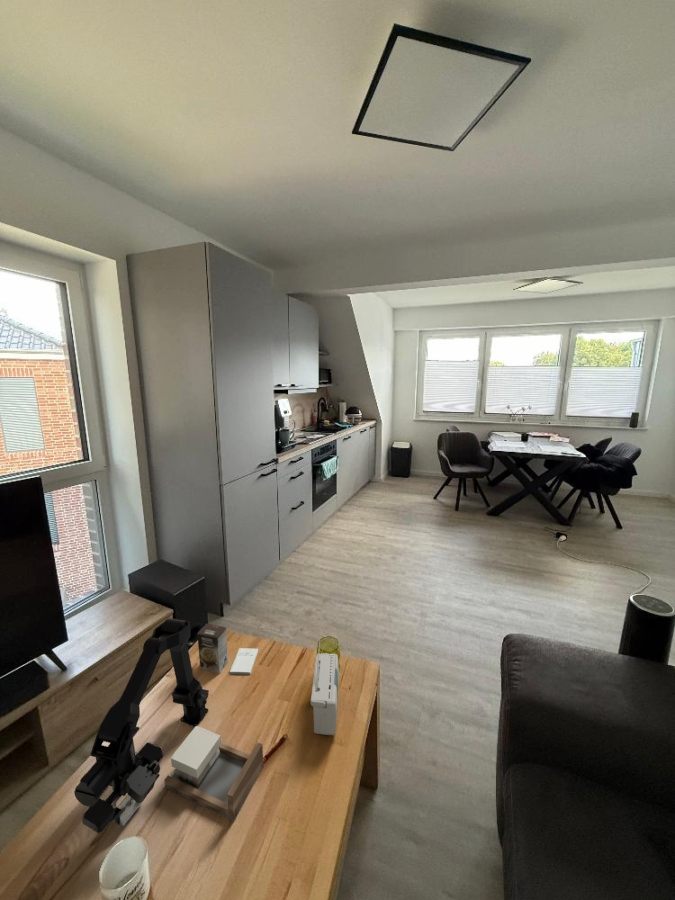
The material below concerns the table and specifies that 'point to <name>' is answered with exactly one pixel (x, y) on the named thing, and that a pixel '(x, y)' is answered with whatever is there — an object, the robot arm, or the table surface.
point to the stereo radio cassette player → (325, 693)
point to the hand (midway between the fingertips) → (129, 808)
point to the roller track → (221, 780)
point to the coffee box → (213, 648)
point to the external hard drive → (244, 661)
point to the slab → (196, 751)
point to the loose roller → (127, 810)
